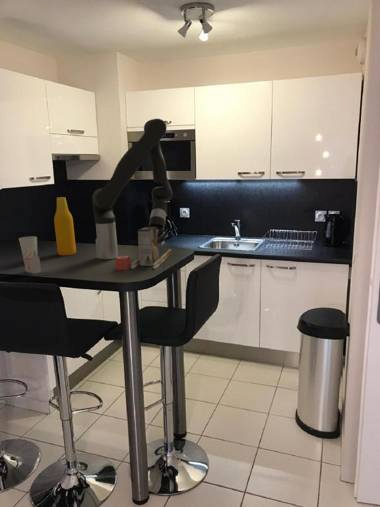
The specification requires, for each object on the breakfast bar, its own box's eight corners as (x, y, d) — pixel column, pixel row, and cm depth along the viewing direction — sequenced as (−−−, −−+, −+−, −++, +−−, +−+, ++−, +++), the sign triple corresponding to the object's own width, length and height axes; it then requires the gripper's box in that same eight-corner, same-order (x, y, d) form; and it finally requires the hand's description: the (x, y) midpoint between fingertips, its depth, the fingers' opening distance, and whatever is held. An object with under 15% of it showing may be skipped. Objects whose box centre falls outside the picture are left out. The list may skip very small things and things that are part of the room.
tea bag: (33, 269, 183) (30, 247, 181) (41, 271, 179) (38, 249, 177) (25, 271, 181) (22, 249, 178) (33, 273, 176) (30, 251, 174)
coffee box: (146, 260, 191) (144, 226, 188) (159, 260, 190) (157, 226, 186) (139, 265, 183) (137, 230, 179) (153, 266, 181) (151, 230, 178)
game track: (131, 268, 178) (130, 264, 178) (150, 253, 207) (150, 249, 206) (155, 268, 176) (155, 264, 176) (172, 253, 205) (171, 249, 204)
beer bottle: (74, 250, 220) (68, 196, 213) (77, 254, 211) (72, 197, 205) (56, 253, 216) (50, 197, 209) (59, 256, 208) (52, 198, 201)
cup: (43, 260, 200) (40, 236, 197) (32, 264, 192) (29, 239, 190) (29, 260, 202) (26, 236, 200) (18, 264, 195) (15, 239, 192)
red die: (116, 269, 177) (115, 257, 176) (120, 266, 182) (119, 255, 181) (127, 270, 176) (126, 257, 175) (130, 267, 181) (129, 255, 180)
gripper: (142, 215, 197) (136, 246, 188) (169, 215, 194) (164, 246, 186) (146, 224, 203) (140, 254, 194) (172, 224, 201) (167, 254, 192)
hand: (152, 250), depth 190 cm, fingers closed
